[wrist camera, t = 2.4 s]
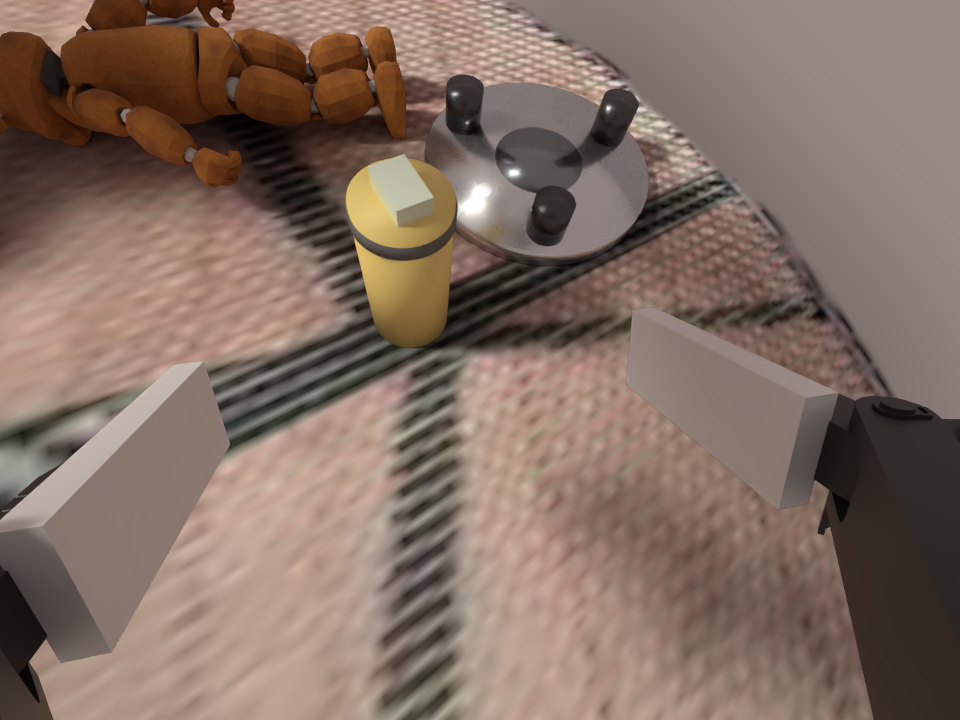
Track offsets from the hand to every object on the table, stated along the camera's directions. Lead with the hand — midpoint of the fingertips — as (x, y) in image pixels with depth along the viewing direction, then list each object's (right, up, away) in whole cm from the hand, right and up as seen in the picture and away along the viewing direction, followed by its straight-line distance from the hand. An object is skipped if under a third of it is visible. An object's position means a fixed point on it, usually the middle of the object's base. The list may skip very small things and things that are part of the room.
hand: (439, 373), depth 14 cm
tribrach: (+6, +16, +23) cm, 28 cm away
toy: (-20, +20, +22) cm, 36 cm away
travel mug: (-3, +4, +17) cm, 17 cm away
